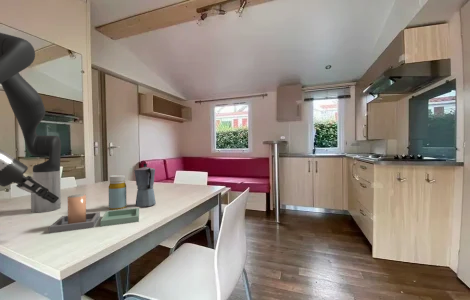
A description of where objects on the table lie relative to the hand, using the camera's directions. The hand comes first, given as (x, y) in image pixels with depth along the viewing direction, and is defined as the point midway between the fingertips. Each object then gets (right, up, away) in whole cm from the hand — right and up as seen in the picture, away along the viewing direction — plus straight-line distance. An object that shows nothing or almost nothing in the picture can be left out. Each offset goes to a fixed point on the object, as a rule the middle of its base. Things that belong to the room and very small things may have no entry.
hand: (52, 198), depth 70 cm
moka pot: (+18, -11, +32) cm, 38 cm away
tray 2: (+17, -11, +11) cm, 23 cm away
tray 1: (+4, -11, +6) cm, 13 cm away
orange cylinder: (+4, -10, +6) cm, 12 cm away
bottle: (+7, -11, +27) cm, 30 cm away
